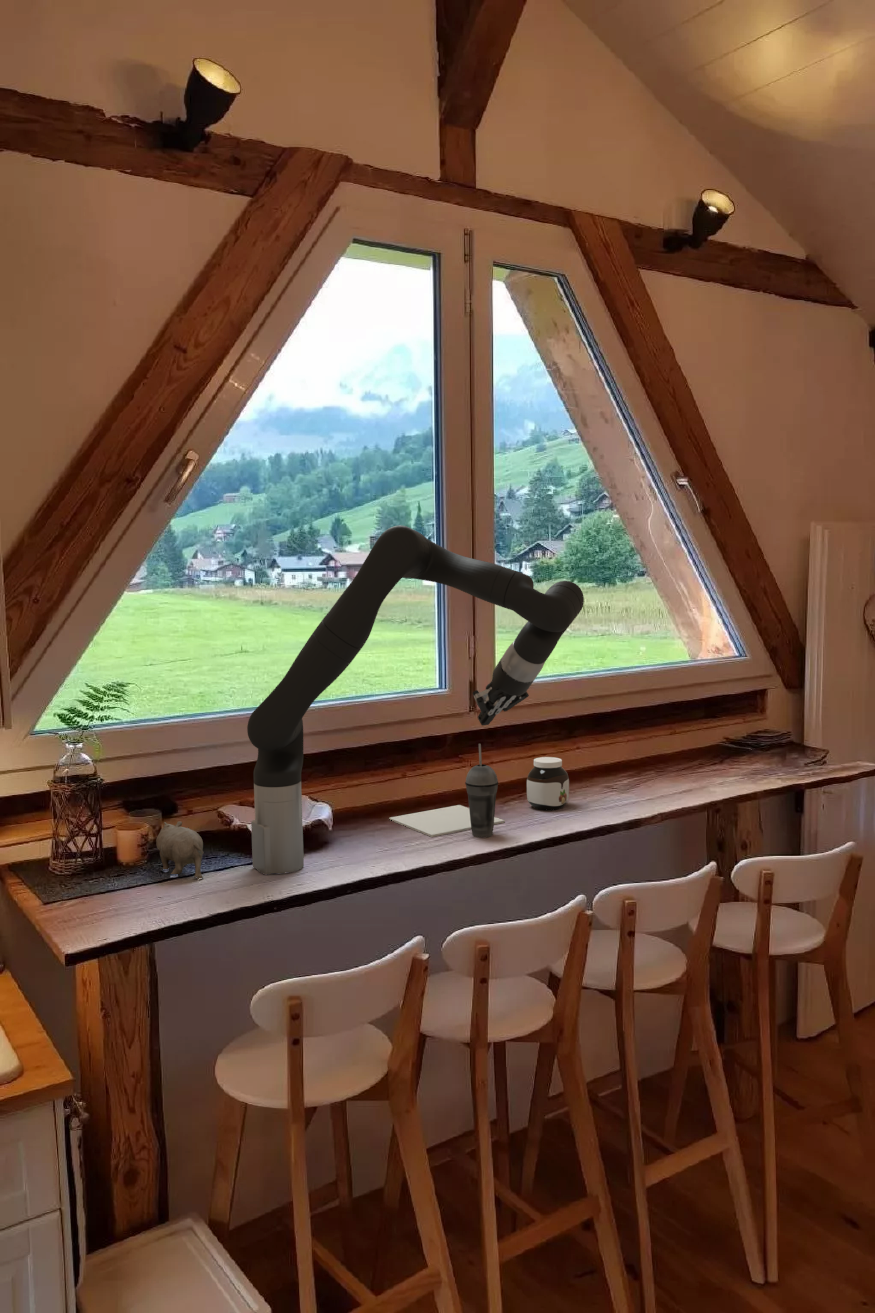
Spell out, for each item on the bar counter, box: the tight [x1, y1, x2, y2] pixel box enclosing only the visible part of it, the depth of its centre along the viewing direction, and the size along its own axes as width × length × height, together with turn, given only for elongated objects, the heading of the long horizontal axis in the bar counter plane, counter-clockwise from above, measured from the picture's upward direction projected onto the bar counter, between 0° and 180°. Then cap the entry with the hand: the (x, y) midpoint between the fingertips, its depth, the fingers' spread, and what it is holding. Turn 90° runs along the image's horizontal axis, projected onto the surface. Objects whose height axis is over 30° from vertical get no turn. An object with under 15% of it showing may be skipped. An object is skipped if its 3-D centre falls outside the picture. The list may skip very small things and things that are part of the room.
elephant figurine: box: [155, 821, 204, 879], centre depth 197 cm, size 8×14×15 cm
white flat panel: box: [388, 804, 506, 838], centre depth 232 cm, size 20×18×1 cm
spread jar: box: [526, 756, 570, 811], centre depth 245 cm, size 12×11×12 cm
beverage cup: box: [464, 743, 499, 838], centre depth 219 cm, size 7×7×20 cm
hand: (482, 721), depth 202 cm, fingers closed
